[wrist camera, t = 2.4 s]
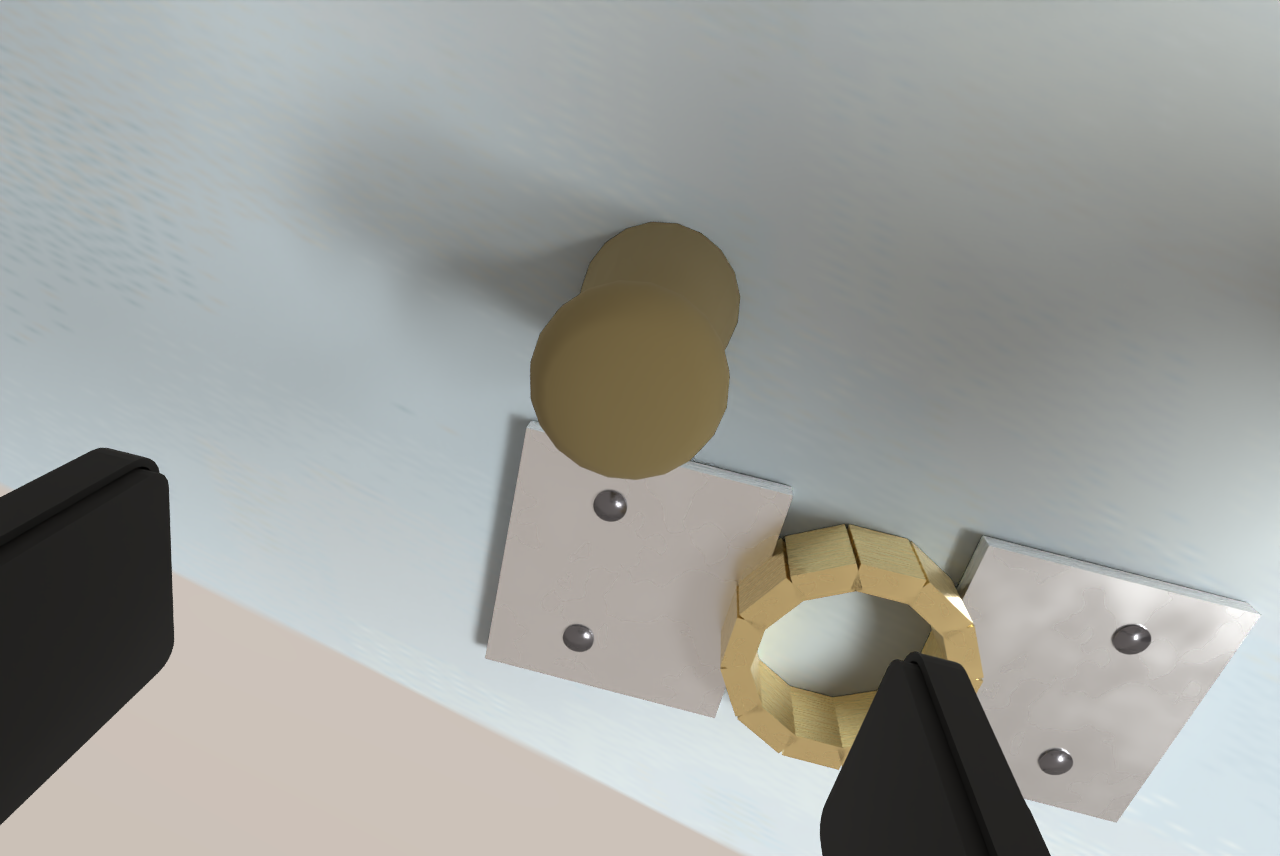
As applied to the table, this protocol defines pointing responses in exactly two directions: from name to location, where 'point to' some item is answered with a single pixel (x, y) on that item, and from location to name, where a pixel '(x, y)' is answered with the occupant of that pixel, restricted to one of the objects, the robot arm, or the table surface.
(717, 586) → the mounting plate with ring
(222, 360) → the table surface
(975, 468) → the table surface
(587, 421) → the cork
